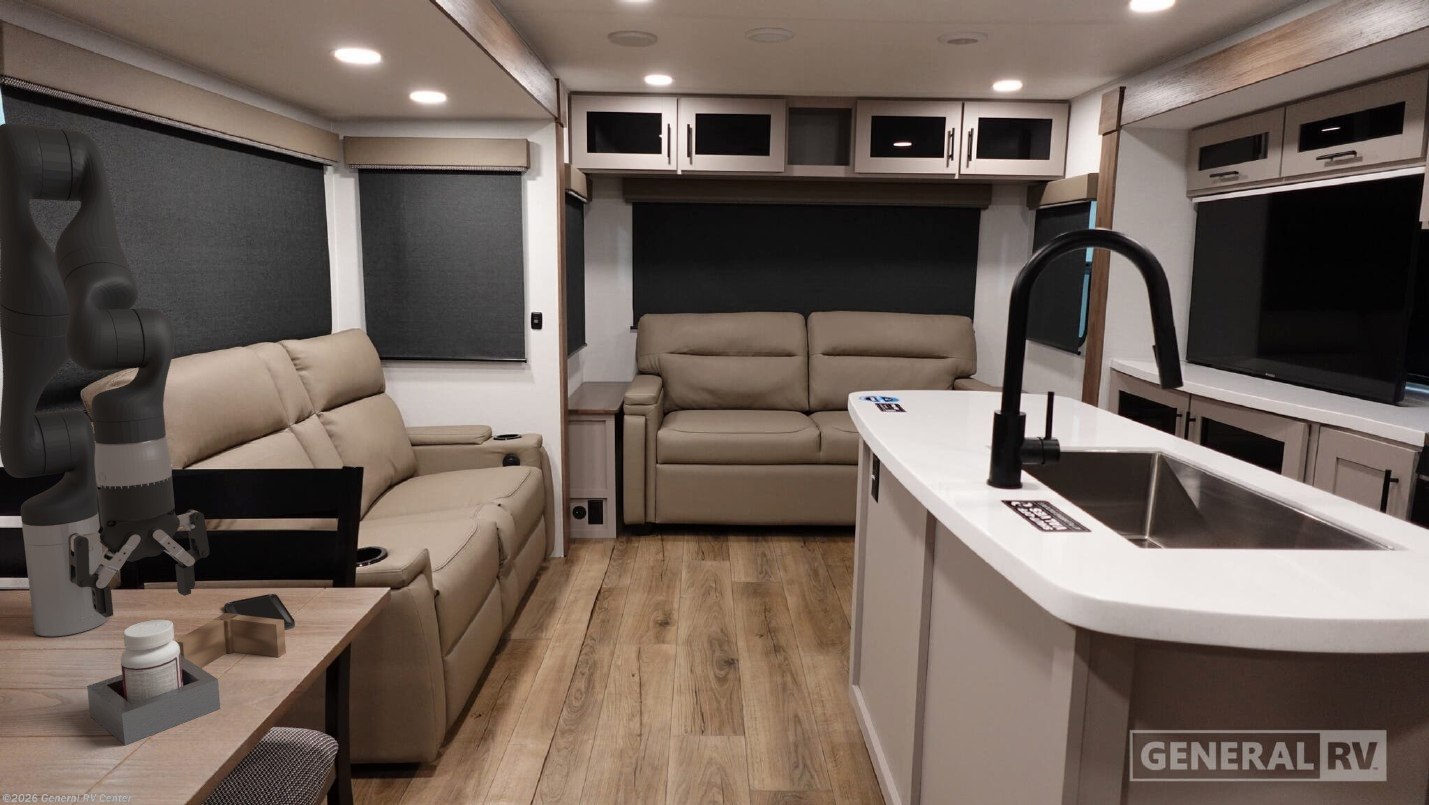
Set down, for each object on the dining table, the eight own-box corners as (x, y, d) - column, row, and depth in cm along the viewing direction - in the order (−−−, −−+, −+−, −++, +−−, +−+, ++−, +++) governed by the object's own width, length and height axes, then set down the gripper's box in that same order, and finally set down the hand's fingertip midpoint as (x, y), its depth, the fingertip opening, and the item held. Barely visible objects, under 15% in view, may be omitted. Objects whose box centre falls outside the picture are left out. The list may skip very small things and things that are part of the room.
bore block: (90, 715, 106) (87, 686, 105) (183, 683, 114) (180, 655, 113) (124, 745, 99) (121, 713, 99) (220, 708, 108) (218, 679, 107)
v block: (287, 655, 123) (284, 622, 122) (176, 679, 115) (173, 644, 114) (279, 634, 129) (277, 603, 128) (173, 655, 122) (170, 622, 121)
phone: (275, 592, 143) (296, 622, 132) (276, 599, 144) (296, 629, 132) (222, 603, 139) (238, 635, 127) (222, 610, 139) (239, 642, 127)
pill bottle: (143, 700, 109) (136, 617, 108) (194, 699, 110) (187, 616, 108) (115, 726, 103) (106, 639, 102) (168, 724, 104) (161, 637, 102)
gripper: (185, 461, 110) (195, 581, 112) (51, 482, 98) (66, 615, 101) (212, 469, 105) (222, 594, 108) (75, 493, 94) (90, 631, 96)
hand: (146, 604), depth 104 cm, fingers open, 8 cm apart
